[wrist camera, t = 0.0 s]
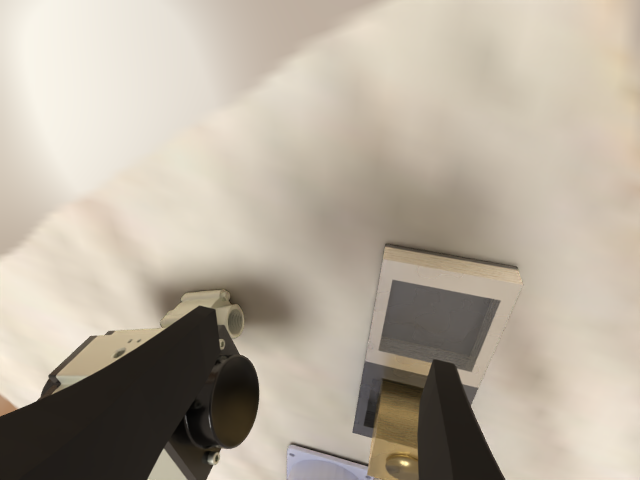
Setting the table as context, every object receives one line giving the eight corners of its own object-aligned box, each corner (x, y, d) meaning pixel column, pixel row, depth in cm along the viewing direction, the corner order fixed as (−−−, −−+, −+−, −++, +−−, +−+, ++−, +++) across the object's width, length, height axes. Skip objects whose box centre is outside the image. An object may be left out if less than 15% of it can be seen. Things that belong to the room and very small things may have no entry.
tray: (446, 437, 28) (447, 458, 27) (355, 413, 29) (352, 432, 28) (517, 266, 20) (523, 284, 18) (385, 243, 21) (383, 259, 20)
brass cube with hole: (433, 421, 27) (433, 497, 23) (376, 407, 28) (366, 478, 24) (446, 384, 25) (450, 461, 21) (384, 369, 26) (375, 441, 21)
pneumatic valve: (297, 327, 26) (216, 517, 16) (167, 333, 30) (39, 489, 20) (271, 262, 24) (157, 438, 14) (134, 278, 28) (-31, 423, 18)
